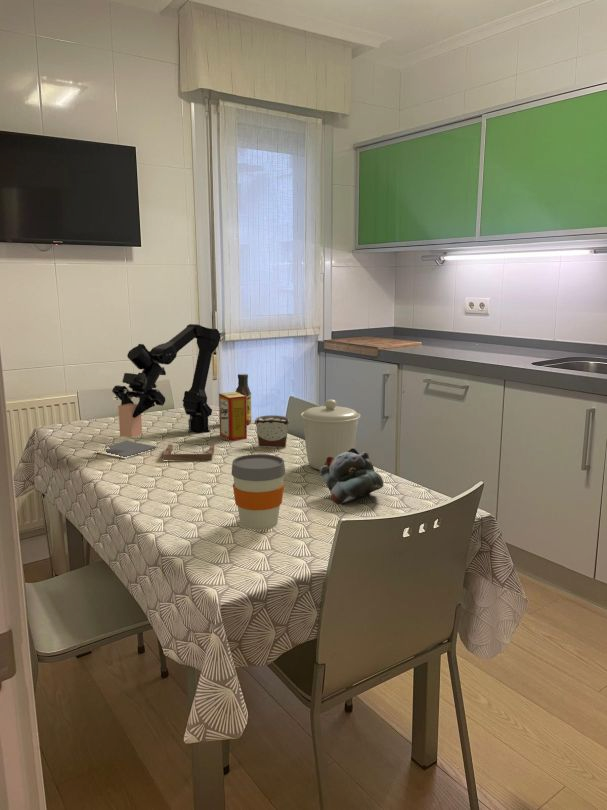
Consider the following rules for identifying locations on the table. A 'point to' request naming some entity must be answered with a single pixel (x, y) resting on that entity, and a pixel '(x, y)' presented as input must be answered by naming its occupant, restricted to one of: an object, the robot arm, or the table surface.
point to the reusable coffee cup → (258, 489)
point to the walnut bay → (188, 455)
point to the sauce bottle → (245, 393)
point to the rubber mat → (128, 448)
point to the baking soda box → (233, 416)
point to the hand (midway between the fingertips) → (127, 416)
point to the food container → (272, 431)
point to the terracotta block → (129, 421)
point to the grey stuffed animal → (350, 476)
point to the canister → (328, 431)
